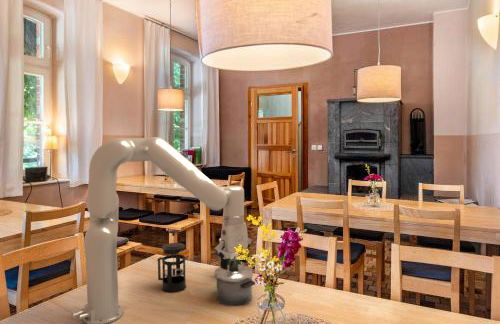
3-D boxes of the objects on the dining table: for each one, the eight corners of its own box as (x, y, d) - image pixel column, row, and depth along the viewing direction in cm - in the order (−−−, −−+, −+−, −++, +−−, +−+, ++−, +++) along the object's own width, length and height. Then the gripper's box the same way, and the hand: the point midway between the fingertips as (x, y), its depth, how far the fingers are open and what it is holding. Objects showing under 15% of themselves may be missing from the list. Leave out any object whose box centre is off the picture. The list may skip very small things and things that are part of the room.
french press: (191, 283, 146) (190, 228, 144) (182, 293, 136) (181, 234, 135) (164, 281, 148) (163, 227, 146) (153, 291, 138) (152, 233, 137)
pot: (236, 311, 122) (236, 286, 121) (205, 296, 134) (205, 273, 133) (263, 299, 132) (263, 275, 131) (232, 285, 144) (232, 263, 143)
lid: (232, 285, 122) (231, 270, 122) (206, 274, 132) (206, 260, 132) (260, 274, 132) (260, 260, 132) (235, 264, 142) (234, 251, 142)
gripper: (222, 225, 122) (222, 274, 123) (257, 217, 134) (257, 262, 135) (208, 221, 127) (209, 268, 129) (243, 214, 140) (243, 257, 141)
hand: (234, 265), depth 132 cm, fingers open, 9 cm apart
